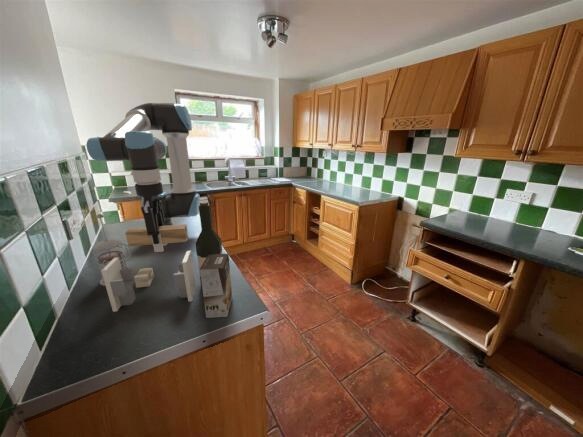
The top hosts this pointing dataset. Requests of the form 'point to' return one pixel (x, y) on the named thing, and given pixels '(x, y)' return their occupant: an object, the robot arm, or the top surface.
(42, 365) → the top surface
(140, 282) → the spacers
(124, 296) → the brackets
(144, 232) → the rail
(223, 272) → the coffee box
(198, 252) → the wine bottle
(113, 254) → the french press
